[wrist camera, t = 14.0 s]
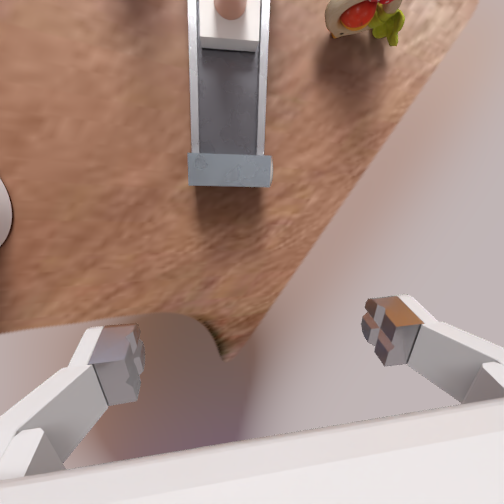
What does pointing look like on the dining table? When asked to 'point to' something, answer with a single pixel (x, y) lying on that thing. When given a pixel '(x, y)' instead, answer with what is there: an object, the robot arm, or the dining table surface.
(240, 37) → the carriage
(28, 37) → the dining table surface
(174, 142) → the dining table surface
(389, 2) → the decorative toy figure
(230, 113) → the rail track
